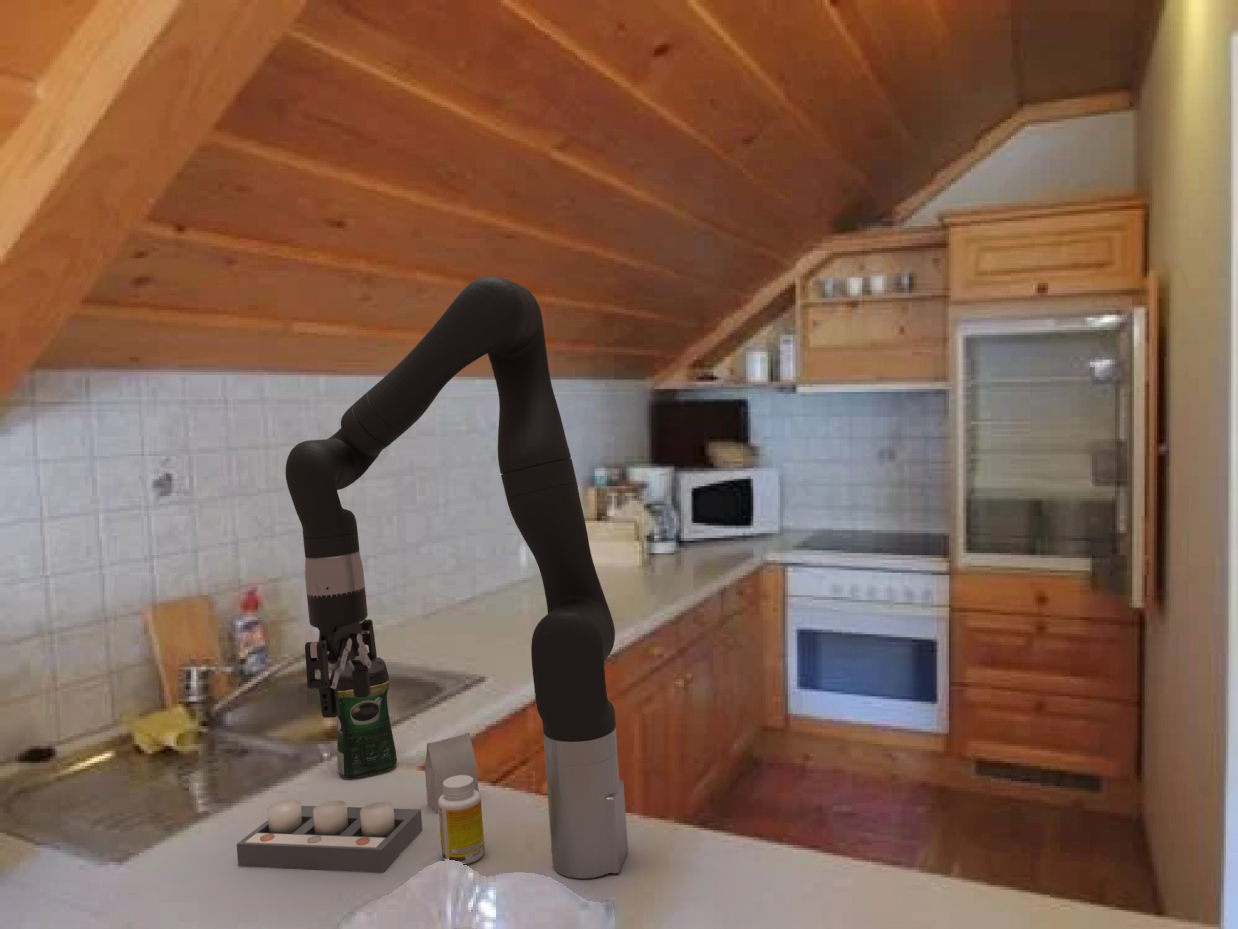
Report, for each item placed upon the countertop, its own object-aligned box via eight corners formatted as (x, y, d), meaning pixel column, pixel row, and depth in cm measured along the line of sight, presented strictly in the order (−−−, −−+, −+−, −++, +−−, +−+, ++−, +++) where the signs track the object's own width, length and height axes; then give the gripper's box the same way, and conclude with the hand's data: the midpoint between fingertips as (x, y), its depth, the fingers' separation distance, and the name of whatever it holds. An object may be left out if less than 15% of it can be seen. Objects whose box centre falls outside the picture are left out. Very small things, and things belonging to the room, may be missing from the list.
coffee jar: (392, 756, 158) (384, 651, 157) (400, 771, 151) (392, 661, 150) (334, 768, 154) (326, 660, 153) (340, 783, 147) (331, 671, 146)
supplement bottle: (493, 854, 119) (488, 778, 119) (459, 871, 115) (453, 793, 115) (467, 843, 123) (462, 769, 123) (433, 859, 119) (427, 783, 118)
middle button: (354, 822, 126) (352, 801, 126) (338, 837, 121) (336, 815, 121) (325, 821, 127) (323, 800, 127) (308, 836, 122) (306, 814, 122)
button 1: (308, 820, 127) (306, 800, 127) (291, 835, 123) (289, 813, 123) (280, 820, 128) (278, 799, 128) (262, 834, 124) (260, 812, 124)
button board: (422, 830, 128) (420, 807, 128) (383, 872, 116) (381, 847, 116) (289, 825, 132) (287, 803, 132) (238, 866, 121) (236, 842, 120)
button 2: (400, 824, 124) (399, 802, 124) (386, 838, 120) (384, 816, 120) (371, 823, 125) (369, 801, 125) (355, 837, 121) (354, 815, 121)
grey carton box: (479, 800, 137) (474, 736, 136) (437, 814, 133) (432, 747, 133) (468, 793, 140) (464, 730, 139) (427, 806, 136) (422, 741, 136)
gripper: (334, 597, 114) (346, 724, 114) (385, 576, 127) (396, 689, 128) (280, 599, 115) (293, 724, 116) (337, 579, 129) (348, 690, 130)
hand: (347, 706), depth 122 cm, fingers open, 8 cm apart
